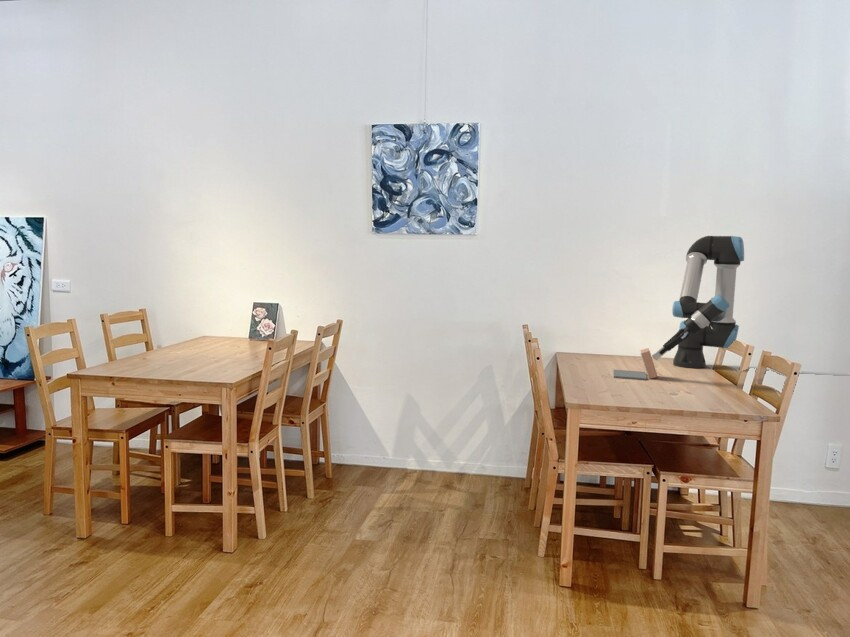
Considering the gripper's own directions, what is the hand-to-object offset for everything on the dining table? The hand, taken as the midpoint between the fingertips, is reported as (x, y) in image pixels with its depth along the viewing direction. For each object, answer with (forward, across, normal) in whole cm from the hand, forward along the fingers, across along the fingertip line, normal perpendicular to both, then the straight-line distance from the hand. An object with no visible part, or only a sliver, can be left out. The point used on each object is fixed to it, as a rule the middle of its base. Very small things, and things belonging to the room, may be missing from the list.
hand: (654, 358), depth 296 cm
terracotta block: (+6, +1, -6) cm, 8 cm away
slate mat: (+13, +1, +1) cm, 13 cm away
